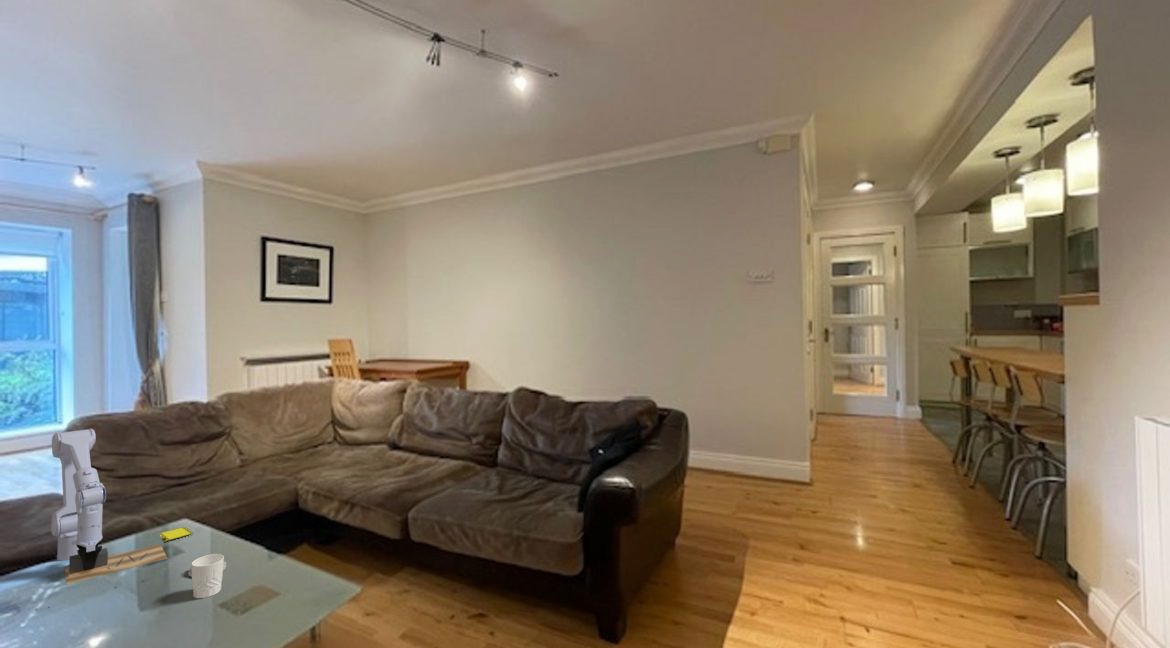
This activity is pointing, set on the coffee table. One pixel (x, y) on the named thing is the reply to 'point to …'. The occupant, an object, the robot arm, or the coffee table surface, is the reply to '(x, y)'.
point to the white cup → (207, 575)
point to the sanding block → (77, 563)
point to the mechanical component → (202, 556)
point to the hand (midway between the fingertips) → (88, 566)
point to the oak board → (123, 562)
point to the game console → (174, 534)
